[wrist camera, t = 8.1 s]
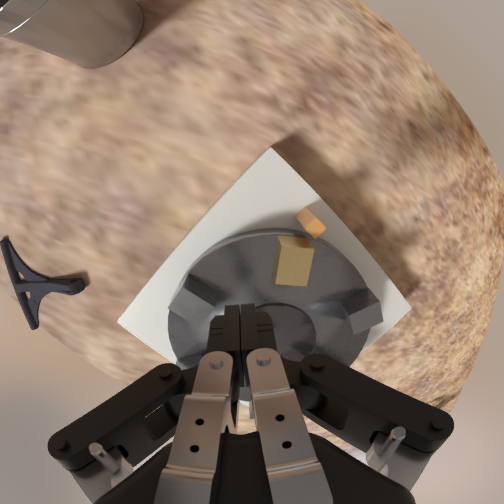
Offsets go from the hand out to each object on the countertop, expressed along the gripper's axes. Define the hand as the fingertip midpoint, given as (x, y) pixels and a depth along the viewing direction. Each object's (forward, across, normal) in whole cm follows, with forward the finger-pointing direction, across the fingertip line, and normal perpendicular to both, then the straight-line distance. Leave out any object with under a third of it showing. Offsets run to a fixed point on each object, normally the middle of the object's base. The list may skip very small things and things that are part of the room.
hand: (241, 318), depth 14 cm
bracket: (+16, +27, +5) cm, 32 cm away
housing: (+14, -2, +9) cm, 17 cm away
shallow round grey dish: (+11, -2, +9) cm, 15 cm away
